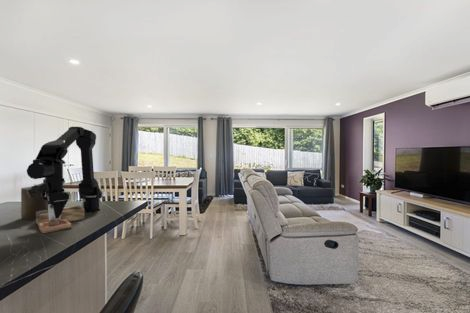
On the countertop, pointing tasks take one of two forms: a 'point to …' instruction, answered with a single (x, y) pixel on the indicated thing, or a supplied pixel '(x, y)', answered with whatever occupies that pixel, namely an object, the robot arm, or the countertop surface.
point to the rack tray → (45, 226)
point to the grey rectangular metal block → (41, 213)
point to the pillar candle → (31, 205)
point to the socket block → (65, 214)
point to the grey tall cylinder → (53, 217)
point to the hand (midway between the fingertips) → (54, 215)
